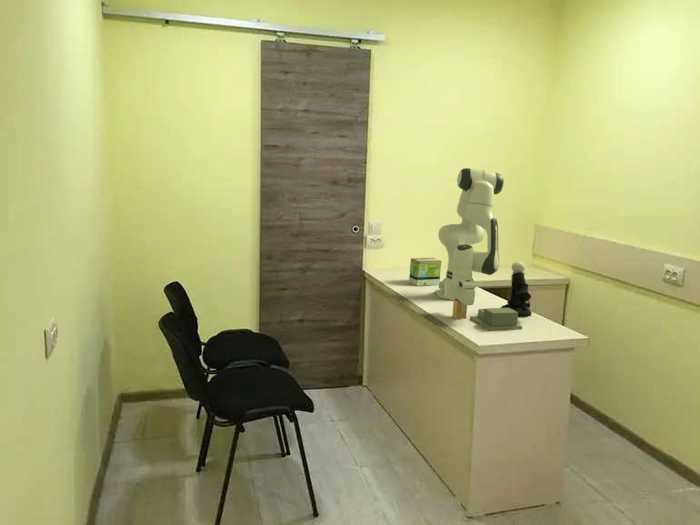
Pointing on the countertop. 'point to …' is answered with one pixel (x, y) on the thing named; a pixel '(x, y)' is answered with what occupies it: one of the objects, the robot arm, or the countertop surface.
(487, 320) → the green plate with frame
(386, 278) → the countertop surface
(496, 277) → the countertop surface
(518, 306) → the sculpture
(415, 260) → the tea box
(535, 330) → the countertop surface
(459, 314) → the yellow box green face
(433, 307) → the countertop surface
